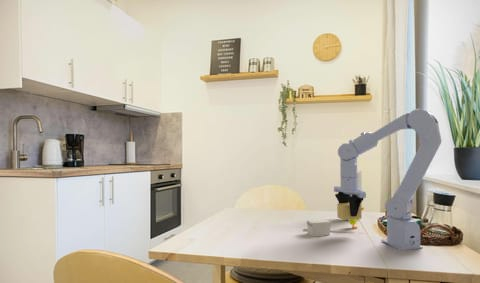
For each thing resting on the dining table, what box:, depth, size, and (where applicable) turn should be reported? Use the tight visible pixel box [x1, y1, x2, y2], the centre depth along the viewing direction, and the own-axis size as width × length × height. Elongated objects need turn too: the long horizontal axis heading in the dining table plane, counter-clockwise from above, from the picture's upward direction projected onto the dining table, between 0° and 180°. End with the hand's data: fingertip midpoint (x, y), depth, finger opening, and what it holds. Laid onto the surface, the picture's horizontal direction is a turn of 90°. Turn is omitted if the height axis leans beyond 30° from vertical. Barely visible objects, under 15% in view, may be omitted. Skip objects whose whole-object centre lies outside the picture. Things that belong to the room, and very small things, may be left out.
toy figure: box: [348, 206, 365, 230], centre depth 121 cm, size 7×4×12 cm, turn 61°
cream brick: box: [306, 218, 331, 237], centre depth 112 cm, size 4×7×5 cm, turn 103°
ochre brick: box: [336, 202, 362, 221], centre depth 110 cm, size 4×7×5 cm, turn 103°
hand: (349, 214), depth 110 cm, fingers closed on ochre brick, 4 cm apart
